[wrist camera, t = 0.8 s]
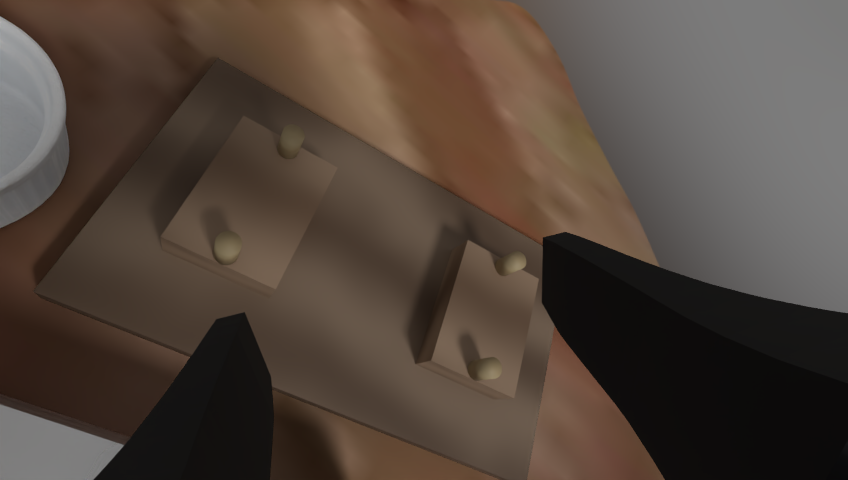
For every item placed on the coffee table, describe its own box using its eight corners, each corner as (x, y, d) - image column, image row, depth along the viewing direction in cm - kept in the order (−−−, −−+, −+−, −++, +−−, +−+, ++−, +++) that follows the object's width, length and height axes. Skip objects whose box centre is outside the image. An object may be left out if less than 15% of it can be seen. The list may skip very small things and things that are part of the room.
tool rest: (511, 483, 25) (569, 496, 21) (40, 297, 19) (4, 268, 15) (554, 264, 32) (604, 244, 28) (216, 72, 25) (222, 11, 22)
